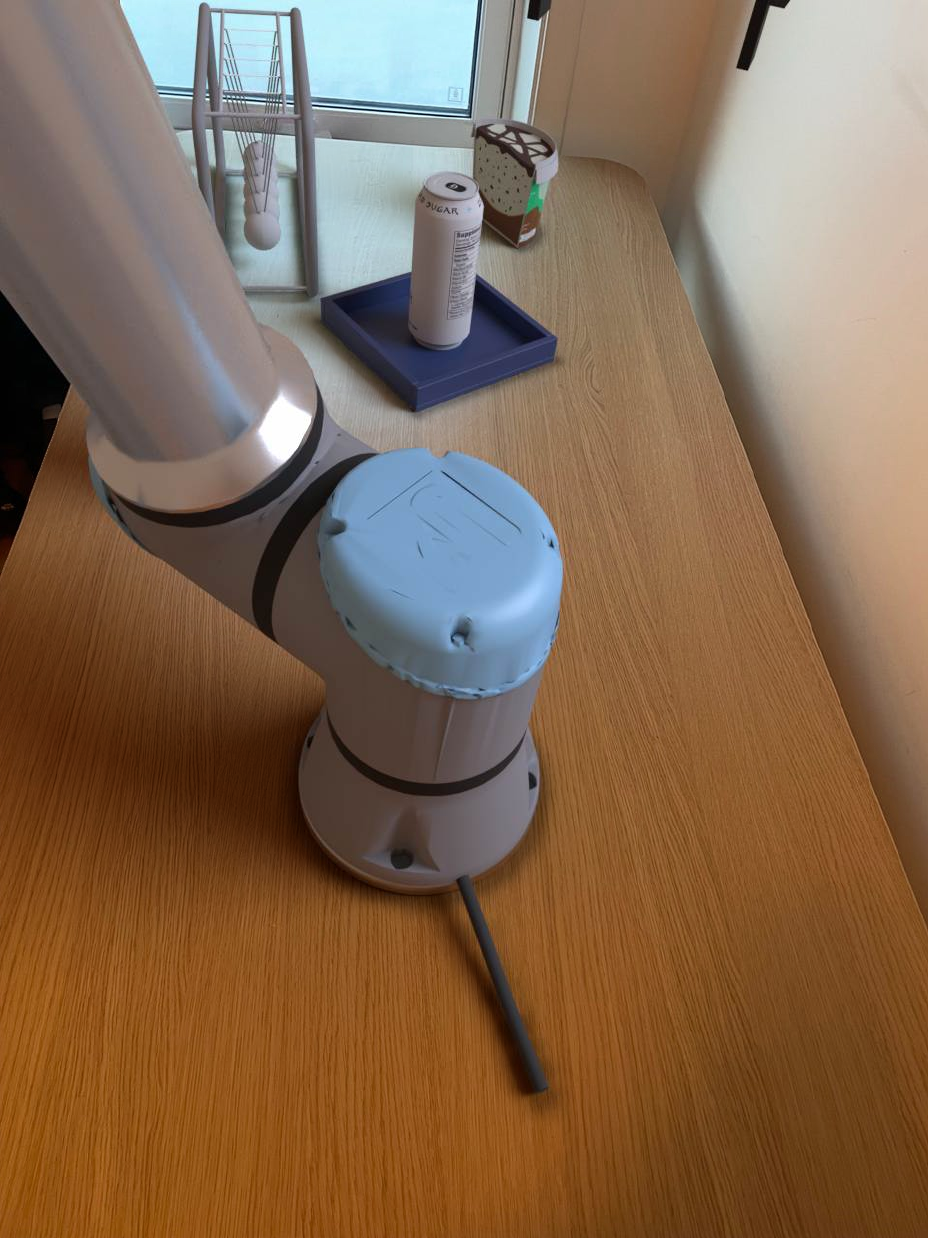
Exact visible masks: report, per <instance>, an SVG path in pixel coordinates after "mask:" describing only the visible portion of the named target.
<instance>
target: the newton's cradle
mask: <svg viewBox="0 0 928 1238" xmlns="http://www.w3.org/2000/svg"><path fill="white" fill-rule="evenodd" d="M212 13H213V14H214V13H215V14H216V13H218V14H220V23H219V26H220V27H219V55H218V56H219V58H218V68H217V58H216V47H215V37H214V28H213V27H214V26H213V17H212ZM225 14H233V15H255V16H270V17H271V16H274V17H275V24H276V25H275V26H276V30H265V29H264V30H263V29H244V28H243V29H242V28H225V17H226V15H225ZM280 17H289V23H290V24H289V25H290V27H289V28H290V47H291V48H290V49H291V71H292V72H291V73H292V75H291V76H292V94H293V95H292V96H293V97H292V99H293V113H291V114H290V113H288V106H287V93H286V81H285V79H286V78H285V67H284V66H285V65H284V55H283V43H282V30H281V18H280ZM228 31H242V32H243V31H244V32H245V31H247V32H264V33H265V32H266V33H267V32H268V33H273V34H274V35H273V42H272V44H258V43H257V44H256V43H235V42H231V39H230V35H229V32H228ZM225 34H226V38H227V42H225ZM276 38H277V39H276ZM276 41H277V44H276ZM195 42H196V43H195V44H196V45H195V58H194V70H193V71H194V72H193V84H192V85H193V87H192V101H191V129H192V131H191V133H192V141H193V150H194V158H195V166H196V177H197V184H198V186H199V188H200V190H201V193H202V195H203V197H204V200H205V202H206V204H207V207H208V209H209V211H210V214H211V216H212V218H213V221H214V223H215V225H216V228H217V230H218V232H219V235H220V237H221V239H222V241H223V244H224V246H225V247H226V191H227V190H226V189H227V188H226V187H227V184H226V183H227V174H242V177H243V182H244V184H243V189H242V194H243V198H244V203H243V207H242V208H243V211H242V212H243V215H244V218H245V221H244V224H243V233H244V238H245V240H246V242H247V243H248V244H249V245H250V246H251V247H252V248H254V249H255V250H259V251H263V252H264V251H270V250H272V249H273V248H275V247H277V246H278V244H279V242H280V240H281V237H282V228H281V224H280V222H279V219H280V216H281V209H280V205H279V199H280V192H279V187H278V182H279V175H289V176H290V175H291V176H292V175H293V176H296V180H297V181H296V182H297V191H298V192H297V193H298V203H299V213H300V225H301V237H302V239H301V240H302V249H303V259H304V273H305V284H306V285H305V286H302V285H294V286H291V285H290V286H289V285H286V286H285V285H242V288H243V290H244V291H306V292H307V294H308V296H310V297H311V298H314V297H317V296H318V294H319V287H320V286H319V285H320V284H319V250H318V249H319V248H318V214H317V213H318V210H317V209H318V208H317V206H318V205H317V173H316V171H317V169H316V138H315V136H316V135H315V120H314V112H313V102H312V95H311V94H312V93H311V87H310V77H309V70H308V69H309V68H308V61H307V60H308V59H307V53H306V43H305V36H304V29H303V20H302V12H301V10H300V9H299V7H296V6H294V7H292V8H291V9H290V10H289V11H276V10H259V9H258V10H257V9H240V8H239V9H238V8H237V9H236V8H222V7H220V8H219V7H210V5H209V4H208V3H207V2H201V3H200V4H199V5H198V15H197V29H196V41H195ZM228 45H229V47H228ZM232 45H237V46H257V47H258V46H260V47H272V52H271V59H258V58H257V59H255V58H235V54H234V50H233V47H232ZM225 48H226V53H227V56H228V57H224V56H225ZM229 48H230V51H229ZM230 53H231V55H230ZM277 53H278V60H277ZM231 56H232V58H231ZM228 60H229V62H228ZM224 61H225V63H224ZM232 61H233V63H232ZM236 61H258V62H270V66H269V67H270V68H269V74H268V75H259V74H257V75H256V74H239V70H238V66H237V62H236ZM224 64H225V65H226V69H227V72H228V73H224ZM229 64H230V65H229ZM233 65H234V66H233ZM229 66H230V67H231V70H230V67H229ZM234 68H235V69H234ZM278 68H279V75H278ZM231 71H232V74H231ZM235 72H236V74H235ZM227 76H229V79H228V77H227ZM232 76H233V78H232ZM236 77H237V78H236ZM240 77H256V78H268V84H267V92H260V91H244V89H243V85H242V82H241V81H242V80H241V78H240ZM224 78H225V83H226V85H227V89H228V90H224ZM233 79H234V83H235V85H234V83H233ZM229 80H230V83H231V87H230V84H229ZM237 80H238V81H237ZM238 83H239V85H238ZM279 84H280V92H279ZM235 86H236V90H237V91H236V90H235ZM239 87H240V88H239ZM231 88H232V90H231ZM207 89H208V99H209V107H210V108H209V109H210V111H208V110H207V111H206V105H207V103H206V102H207V100H206V99H207ZM227 93H229V97H230V101H231V104H232V108H233V112H232V109H231V106H230V101H229V98H228V94H227ZM232 93H233V95H234V97H235V102H236V106H237V109H236V106H235V102H234V99H233V95H232ZM237 94H238V97H237ZM245 94H259V95H260V94H264V95H266V101H265V109H264V113H262V112H250V111H249V109H248V108H249V107H248V105H247V101H246V98H245ZM241 95H242V97H241ZM224 97H225V100H226V104H227V108H228V111H223V110H224V109H223V108H224V106H223V105H224V103H223V101H224ZM238 98H239V100H238ZM242 98H243V99H242ZM277 98H278V99H277ZM239 102H240V103H239ZM243 102H244V105H243ZM280 103H281V106H282V107H281V108H282V113H279V110H280ZM239 104H240V105H239ZM240 106H241V108H240ZM244 106H245V107H244ZM241 109H242V112H241ZM237 110H238V111H237ZM245 110H246V111H245ZM206 117H208V118H211V119H210V120H211V127H212V129H211V130H212V136H213V147H214V157H215V186H214V187H215V190H214V192H215V194H214V196H213V187H212V178H211V169H210V161H209V150H208V142H207V131H206ZM222 118H231V122H232V126H233V129H234V133H235V137H236V140H237V144H238V148H239V152H240V156H241V160H242V163H243V169H233V168H232V169H230V168H229V169H228V168H227V166H226V164H227V163H226V150H225V139H224V131H223V120H222ZM234 118H235V119H236V122H237V127H238V130H239V134H240V138H241V141H242V145H243V149H244V150H242V146H241V142H240V138H239V135H238V131H237V128H236V124H235V120H234ZM239 118H240V120H239ZM243 119H244V120H245V121H244V120H243ZM251 119H263V125H262V131H261V140H259V139H257V140H256V135H255V132H254V127H253V124H252V121H251ZM278 120H294V121H293V122H294V124H293V125H294V144H295V146H294V147H295V167H296V170H277V166H278V165H277V164H278V157H277V154H276V152H275V150H274V149H275V141H276V134H277V125H278ZM240 121H241V124H240ZM244 122H245V123H244ZM248 122H249V123H248ZM245 124H246V126H245ZM241 125H242V128H243V129H242V128H241ZM249 126H250V127H249ZM246 128H247V131H246ZM250 129H251V131H250ZM242 130H243V132H242ZM273 130H274V131H273ZM247 132H248V135H247ZM243 133H244V136H245V139H244V136H243ZM251 133H252V134H251ZM248 137H249V138H248ZM272 138H273V139H272ZM249 139H250V142H249ZM245 140H246V143H245Z"/></svg>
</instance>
